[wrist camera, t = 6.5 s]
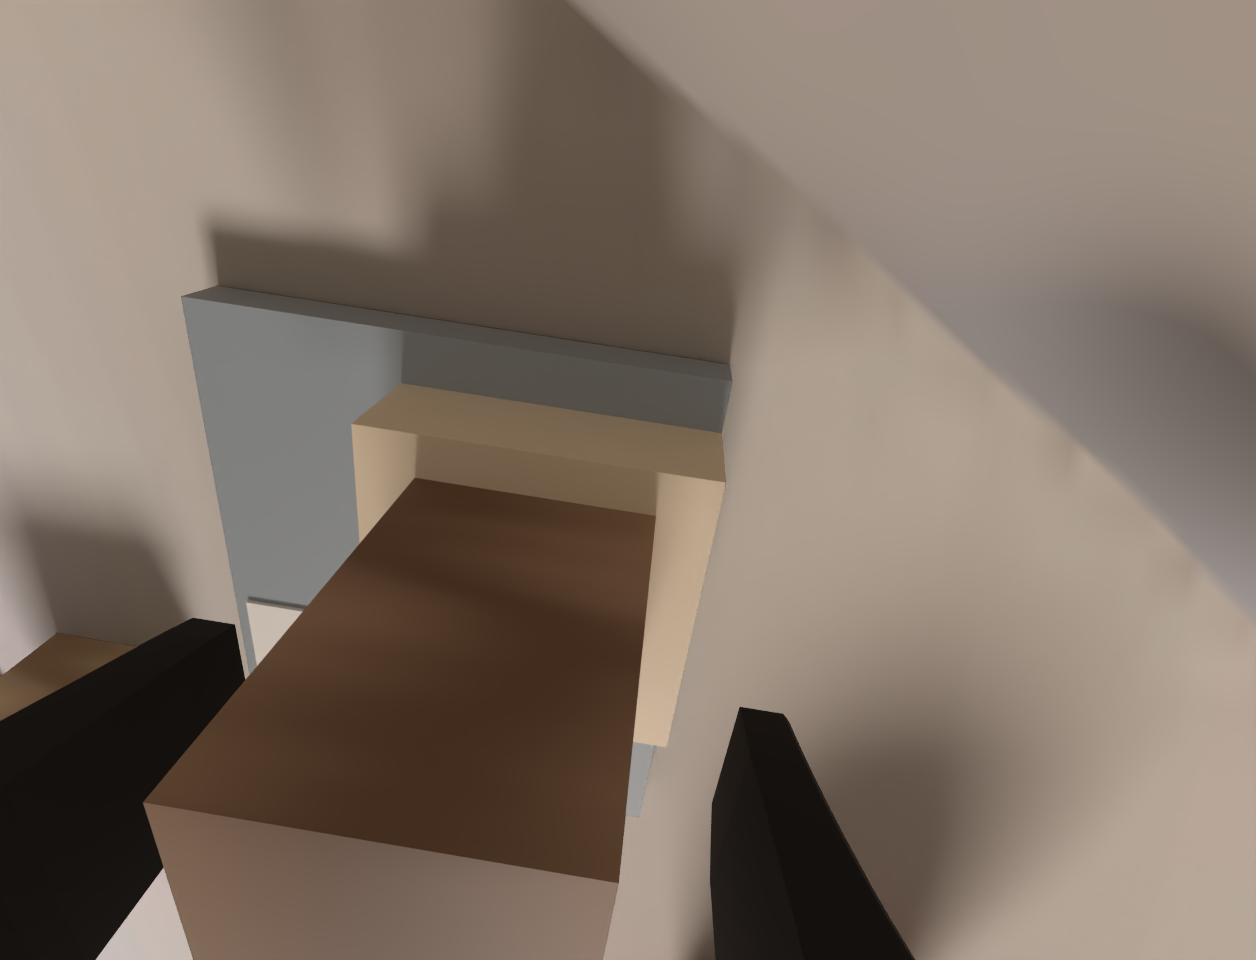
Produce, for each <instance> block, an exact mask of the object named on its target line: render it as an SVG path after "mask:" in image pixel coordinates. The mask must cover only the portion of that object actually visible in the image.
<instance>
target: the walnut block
mask: <svg viewBox="0 0 1256 960" xmlns="http://www.w3.org/2000/svg"><path fill="white" fill-rule="evenodd" d="M655 522H656V516H653V515H646V514H640V513H634V512H628V511H621V510H615V509H609V508H602V507H596V506H590V505H583V504H577V503H571V502H565V501H558V500H552V499H546V498H539V497H533V496H527V495H521V494H514V493H508V492H502V491H495V490H489V489H483V488H476V487H470V486H464V485H458V484H451V483H445V482H439V481H432V480H426V479H420V478H414V479H413V480H412V482H411V483H410V484H409V485H408V486H407V487H406V489H405V490H404V491H403V492H402V493H401V495H400V496H399V497H398V498H397V499H396V501H395V502H394V503H393V504H392V505H391V507H390V508H389V509H388V510H387V511H386V513H385V514H384V515H383V516H382V517H381V519H380V520H379V521H378V522H377V523H376V525H375V526H374V527H373V528H372V529H371V531H370V532H369V533H368V534H367V535H366V536H365V538H364V539H363V540H362V541H361V542H360V544H359V545H358V546H357V547H356V548H355V550H354V551H353V552H352V553H351V554H350V556H349V557H348V558H347V559H346V560H345V562H344V563H343V564H342V565H341V566H340V568H339V569H338V570H337V571H336V572H335V574H334V575H333V576H332V577H331V578H330V580H329V581H328V582H327V583H326V584H325V585H324V587H323V588H322V589H321V590H320V591H319V593H318V594H317V595H316V596H315V597H314V599H313V600H312V601H311V602H310V603H309V605H308V606H307V607H306V608H305V609H304V611H303V612H302V613H301V614H300V615H299V617H298V618H297V619H296V620H295V621H294V623H293V624H292V625H291V626H290V627H289V629H288V630H287V631H286V632H285V633H284V634H283V636H282V637H281V638H280V639H279V640H278V642H277V643H276V644H275V645H274V646H273V648H272V649H271V650H270V651H269V652H268V654H267V655H266V656H265V657H264V658H263V660H262V661H261V662H260V663H259V664H258V666H257V667H256V668H255V669H254V670H253V672H252V673H251V674H250V675H249V676H248V678H247V679H246V680H245V681H244V682H243V683H242V685H241V686H240V687H239V688H238V689H237V691H236V692H235V693H234V694H233V695H232V697H231V698H230V699H229V700H228V701H227V703H226V704H225V705H224V706H223V707H222V709H221V710H220V711H219V712H218V713H217V715H216V716H215V717H214V718H213V719H212V721H211V722H210V723H209V724H208V725H207V727H206V728H205V729H204V730H203V731H202V732H201V734H200V735H199V736H198V737H197V738H196V740H195V741H194V742H193V743H192V744H191V746H190V747H189V748H188V749H187V750H186V752H185V753H184V754H183V755H182V756H181V758H180V759H179V760H178V761H177V762H176V764H175V765H174V766H173V767H172V768H171V770H170V771H169V772H168V773H167V774H166V775H165V777H164V778H163V779H162V780H161V781H160V783H159V784H158V785H157V786H156V787H155V789H154V790H153V791H152V792H151V793H150V795H149V796H148V797H147V798H146V799H145V801H144V802H143V804H144V807H145V811H146V814H147V817H148V820H149V823H150V826H151V829H152V832H153V835H154V839H155V842H156V845H157V848H158V851H159V854H160V857H161V860H162V864H163V867H164V870H165V873H166V876H167V879H168V882H169V885H170V888H171V892H172V895H173V898H174V901H175V904H176V907H177V910H178V913H179V916H180V920H181V923H182V926H183V929H184V932H185V935H186V938H187V941H188V944H189V948H190V951H191V954H192V957H193V960H603V957H604V952H605V947H606V942H607V937H608V932H609V928H610V923H611V918H612V913H613V908H614V903H615V898H616V894H617V889H618V884H619V875H620V865H621V855H622V845H623V836H624V826H625V816H626V806H627V796H628V787H629V777H630V767H631V757H632V747H633V738H634V728H635V718H636V708H637V698H638V689H639V679H640V669H641V659H642V649H643V640H644V630H645V620H646V610H647V600H648V591H649V581H650V571H651V561H652V551H653V542H654V532H655Z"/></svg>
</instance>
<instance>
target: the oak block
mask: <svg viewBox="0 0 1256 960" xmlns="http://www.w3.org/2000/svg"><path fill="white" fill-rule="evenodd" d="M134 648H136V646H130V645H124V644H119V643H113V642H107V641H101V640H95V639H89V638H84V637H78V636H72V635H66V634H60V633H57V634H56V635H54V636H53V637H52V638H50V639H49V640H48V641H46V642H45V643H44V644H42V645H41V646H40V647H39V648H37V649H36V650H35V651H33V652H32V653H31V654H29V655H28V656H27V657H26V658H24V659H23V660H22V661H20V662H19V663H18V664H16V665H15V666H14V667H12V668H11V669H10V670H9V671H7V672H6V673H5V674H3V675H2V676H1V677H0V721H1V720H2V719H4V718H6V717H8V716H10V715H12V714H14V713H16V712H17V711H19V710H21V709H23V708H25V707H27V706H29V705H30V704H32V703H34V702H36V701H38V700H40V699H42V698H44V697H45V696H47V695H49V694H51V693H53V692H55V691H57V690H58V689H60V688H62V687H64V686H66V685H68V684H70V683H71V682H73V681H75V680H77V679H79V678H81V677H83V676H84V675H86V674H88V673H90V672H92V671H94V670H95V669H97V668H99V667H101V666H103V665H105V664H106V663H108V662H110V661H112V660H114V659H116V658H117V657H119V656H121V655H123V654H125V653H127V652H128V651H130V650H132V649H134Z"/></svg>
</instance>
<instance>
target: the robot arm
mask: <svg viewBox="0 0 1256 960" xmlns="http://www.w3.org/2000/svg"><path fill="white" fill-rule="evenodd" d="M244 681H245V677H244V671H243V666H242V660H241V655H240V650H239V644H238V639H237V634H236V628H235V625H234V624H228V623H222V622H215V621H209V620H203V619H197V618H192V619H190V620H188V621H186V622H184V623H182V624H180V625H178V626H176V627H174V628H172V629H170V630H168V631H166V632H164V633H162V634H160V635H158V636H156V637H154V638H153V639H151V640H149V641H147V642H145V643H143V644H141V645H140V646H138V647H136V648H134V649H132V650H130V651H128V652H127V653H125V654H123V655H121V656H119V657H117V658H116V659H114V660H112V661H110V662H108V663H106V664H105V665H103V666H101V667H99V668H97V669H95V670H94V671H92V672H90V673H88V674H86V675H84V676H83V677H81V678H79V679H77V680H75V681H73V682H71V683H70V684H68V685H66V686H64V687H62V688H60V689H58V690H57V691H55V692H53V693H51V694H49V695H47V696H45V697H44V698H42V699H40V700H38V701H36V702H34V703H32V704H30V705H29V706H27V707H25V708H23V709H21V710H19V711H17V712H16V713H14V714H12V715H10V716H8V717H6V718H4V719H2V720H1V721H0V960H96V958H97V957H98V955H99V954H100V953H101V951H102V950H103V949H104V947H105V946H106V945H107V943H108V942H109V941H110V939H111V938H112V936H113V935H114V934H115V932H116V931H117V930H118V928H119V927H120V926H121V924H122V923H123V922H124V920H125V919H126V918H127V916H128V915H129V913H130V912H131V911H132V909H133V908H134V907H135V905H136V904H137V903H138V901H139V900H140V899H141V897H142V896H143V894H144V893H145V892H146V890H147V889H148V888H149V886H150V885H151V884H152V882H153V881H154V880H155V878H156V877H157V876H158V874H159V873H160V871H161V870H162V869H163V864H162V860H161V857H160V854H159V851H158V848H157V845H156V842H155V839H154V835H153V832H152V829H151V826H150V823H149V820H148V817H147V814H146V811H145V807H144V804H143V802H144V801H145V799H146V798H147V797H148V796H149V795H150V793H151V792H152V791H153V790H154V789H155V787H156V786H157V785H158V784H159V783H160V781H161V780H162V779H163V778H164V777H165V775H166V774H167V773H168V772H169V771H170V770H171V768H172V767H173V766H174V765H175V764H176V762H177V761H178V760H179V759H180V758H181V756H182V755H183V754H184V753H185V752H186V750H187V749H188V748H189V747H190V746H191V744H192V743H193V742H194V741H195V740H196V738H197V737H198V736H199V735H200V734H201V732H202V731H203V730H204V729H205V728H206V727H207V725H208V724H209V723H210V722H211V721H212V719H213V718H214V717H215V716H216V715H217V713H218V712H219V711H220V710H221V709H222V707H223V706H224V705H225V704H226V703H227V701H228V700H229V699H230V698H231V697H232V695H233V694H234V693H235V692H236V691H237V689H238V688H239V687H240V686H241V685H242V683H243V682H244ZM710 886H711V901H712V914H713V928H714V942H715V955H716V960H915V959H914V957H913V956H912V954H911V952H910V951H909V949H908V947H907V946H906V944H905V942H904V941H903V939H902V937H901V936H900V934H899V932H898V931H897V929H896V927H895V926H894V924H893V922H892V921H891V919H890V917H889V916H888V914H887V912H886V910H885V909H884V907H883V905H882V904H881V902H880V900H879V898H878V897H877V895H876V893H875V891H874V890H873V888H872V886H871V884H870V882H869V881H868V879H867V877H866V875H865V873H864V871H863V870H862V868H861V866H860V864H859V862H858V860H857V859H856V857H855V855H854V853H853V851H852V849H851V848H850V846H849V844H848V842H847V840H846V838H845V837H844V835H843V833H842V831H841V829H840V827H839V825H838V823H837V821H836V819H835V817H834V815H833V813H832V812H831V810H830V808H829V806H828V804H827V802H826V799H825V797H824V795H823V793H822V791H821V789H820V787H819V785H818V783H817V781H816V779H815V777H814V775H813V773H812V771H811V769H810V767H809V765H808V763H807V760H806V758H805V756H804V754H803V752H802V750H801V747H800V745H799V743H798V741H797V739H796V736H795V734H794V732H793V730H792V727H791V725H790V723H789V721H788V720H787V718H786V717H785V716H784V714H780V713H774V712H768V711H762V710H756V709H750V708H743V707H740V708H739V711H738V715H737V718H736V722H735V725H734V729H733V732H732V736H731V739H730V742H729V746H728V749H727V753H726V756H725V760H724V763H723V767H722V770H721V774H720V777H719V781H718V784H717V788H716V791H715V795H714V798H713V801H712V819H711V859H710Z"/></svg>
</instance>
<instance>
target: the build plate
mask: <svg viewBox="0 0 1256 960" xmlns="http://www.w3.org/2000/svg"><path fill="white" fill-rule="evenodd" d="M181 299H182V305H183V310H184V316H185V321H186V327H187V332H188V338H189V343H190V349H191V354H192V360H193V365H194V371H195V376H196V382H197V387H198V393H199V398H200V404H201V409H202V415H203V420H204V426H205V431H206V437H207V442H208V448H209V453H210V459H211V464H212V470H213V475H214V481H215V486H216V492H217V497H218V503H219V508H220V514H221V519H222V525H223V530H224V536H225V541H226V547H227V552H228V558H229V563H230V569H231V574H232V580H233V585H234V591H235V596H236V602H237V607H238V613H239V618H240V624H241V629H242V635H243V640H244V646H245V651H246V657H247V662H248V668H249V673H250V674H251V673H252V672H253V670H254V669H255V668H256V667H257V666H258V664H259V663H260V662H261V661H262V660H263V658H264V657H265V656H266V655H267V654H268V652H269V651H270V650H271V649H272V648H273V646H274V645H275V644H276V643H277V642H278V640H279V639H280V638H281V637H282V636H283V634H284V633H285V632H286V631H287V630H288V629H289V627H290V626H291V625H292V624H293V623H294V621H295V620H296V619H297V618H298V617H299V615H300V614H301V613H302V612H303V611H304V609H305V608H306V607H307V606H308V605H309V603H310V602H311V601H312V600H313V599H314V597H315V596H316V595H317V594H318V593H319V591H320V590H321V589H322V588H323V587H324V585H325V584H326V583H327V582H328V581H329V580H330V578H331V577H332V576H333V575H334V574H335V572H336V571H337V570H338V569H339V568H340V566H341V565H342V564H343V563H344V562H345V560H346V559H347V558H348V557H349V556H350V554H351V553H352V552H353V551H354V550H355V548H356V547H357V546H358V545H359V544H360V542H361V541H362V540H363V539H364V538H365V536H366V535H367V534H368V533H369V532H370V531H371V529H372V528H373V527H374V526H375V525H376V523H377V522H378V521H379V520H380V519H381V517H382V516H383V515H384V514H385V513H386V511H387V510H388V509H389V508H390V507H391V505H392V504H393V503H394V502H395V501H396V499H397V498H398V497H399V496H400V495H401V493H402V492H403V491H404V490H405V489H406V487H407V486H408V485H409V484H410V483H411V482H412V480H413V479H414V478H420V479H426V480H432V481H439V482H445V483H451V484H458V485H464V486H470V487H476V488H483V489H489V490H495V491H502V492H508V493H514V494H521V495H527V496H533V497H539V498H546V499H552V500H558V501H565V502H571V503H577V504H583V505H590V506H596V507H602V508H609V509H615V510H621V511H628V512H634V513H640V514H646V515H653V516H656V522H655V532H654V542H653V551H652V561H651V571H650V581H649V591H648V600H647V610H646V620H645V630H644V640H643V649H642V659H641V669H640V679H639V689H638V698H637V708H636V718H635V728H634V738H633V747H632V757H631V767H630V777H629V787H628V796H627V806H626V816H632V817H638V818H639V816H640V811H641V807H642V802H643V797H644V793H645V788H646V783H647V779H648V774H649V769H650V765H651V760H652V755H653V751H654V746H661V747H666V746H667V742H668V738H669V733H670V729H671V724H672V720H673V715H674V711H675V707H676V702H677V698H678V693H679V689H680V684H681V680H682V676H683V671H684V667H685V662H686V658H687V654H688V649H689V645H690V640H691V636H692V631H693V627H694V623H695V618H696V614H697V609H698V605H699V600H700V596H701V592H702V587H703V583H704V578H705V574H706V569H707V565H708V561H709V556H710V552H711V547H712V543H713V539H714V534H715V530H716V525H717V521H718V516H719V512H720V508H721V503H722V499H723V494H724V490H725V485H726V477H725V466H724V455H723V445H722V434H721V433H722V428H723V423H724V419H725V414H726V409H727V405H728V400H729V395H730V391H731V386H732V376H731V370H730V365H728V364H722V363H715V362H709V361H702V360H696V359H689V358H683V357H676V356H670V355H663V354H657V353H650V352H644V351H637V350H631V349H624V348H618V347H611V346H605V345H598V344H592V343H585V342H579V341H572V340H566V339H559V338H553V337H546V336H540V335H533V334H527V333H520V332H514V331H507V330H501V329H494V328H488V327H481V326H475V325H468V324H462V323H455V322H449V321H442V320H436V319H429V318H423V317H416V316H410V315H403V314H397V313H390V312H384V311H377V310H371V309H364V308H358V307H351V306H345V305H338V304H332V303H325V302H319V301H312V300H306V299H299V298H293V297H286V296H280V295H273V294H267V293H260V292H254V291H247V290H241V289H234V288H228V287H221V286H214V287H211V288H208V289H204V290H201V291H198V292H194V293H191V294H187V295H184V296H181Z"/></svg>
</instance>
